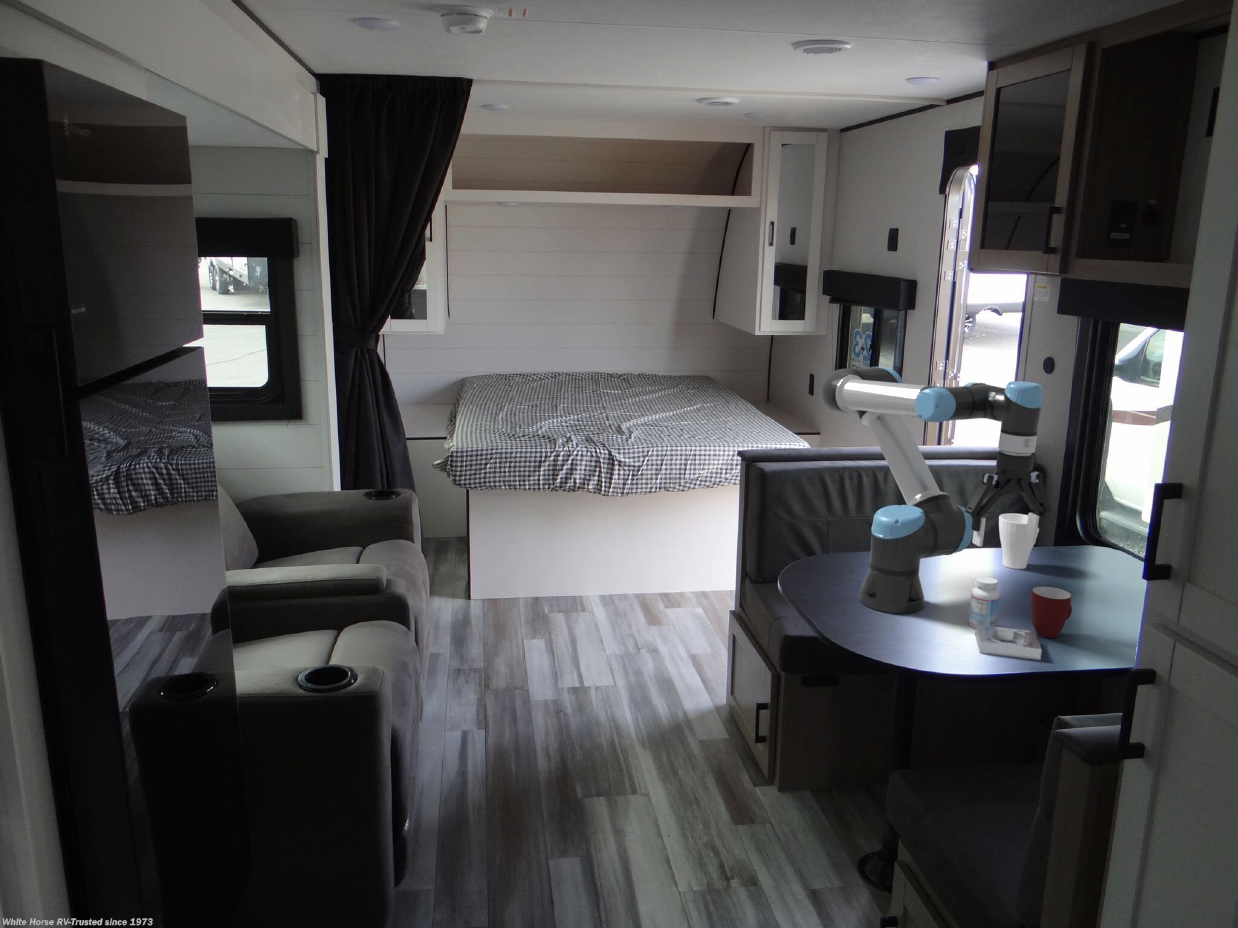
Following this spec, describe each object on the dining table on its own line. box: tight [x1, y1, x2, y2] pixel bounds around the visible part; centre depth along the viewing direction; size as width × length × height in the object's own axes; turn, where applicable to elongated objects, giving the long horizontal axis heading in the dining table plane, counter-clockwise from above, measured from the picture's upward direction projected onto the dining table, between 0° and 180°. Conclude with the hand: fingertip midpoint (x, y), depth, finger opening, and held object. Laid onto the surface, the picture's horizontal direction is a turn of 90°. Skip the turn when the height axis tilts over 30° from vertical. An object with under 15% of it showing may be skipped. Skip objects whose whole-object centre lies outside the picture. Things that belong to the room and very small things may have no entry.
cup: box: [998, 512, 1040, 570], centre depth 253 cm, size 10×10×14 cm
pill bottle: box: [968, 576, 1001, 630], centre depth 210 cm, size 6×6×11 cm
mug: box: [1030, 586, 1073, 639], centre depth 207 cm, size 11×8×10 cm
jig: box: [974, 625, 1042, 661], centre depth 200 cm, size 12×10×2 cm
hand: (1003, 543), depth 209 cm, fingers open, 13 cm apart
